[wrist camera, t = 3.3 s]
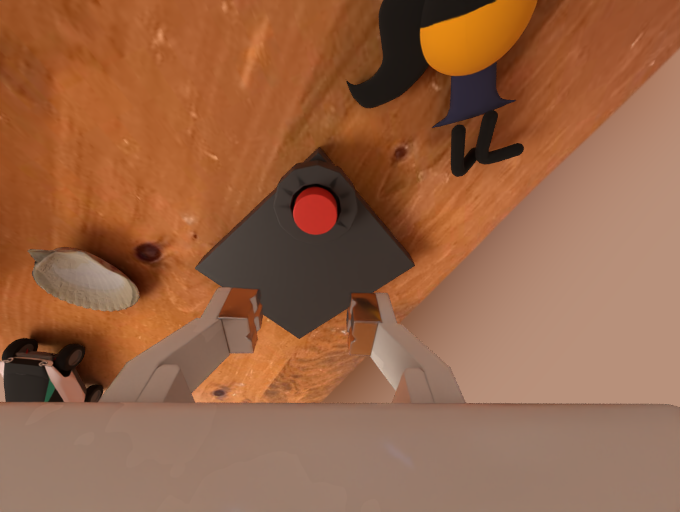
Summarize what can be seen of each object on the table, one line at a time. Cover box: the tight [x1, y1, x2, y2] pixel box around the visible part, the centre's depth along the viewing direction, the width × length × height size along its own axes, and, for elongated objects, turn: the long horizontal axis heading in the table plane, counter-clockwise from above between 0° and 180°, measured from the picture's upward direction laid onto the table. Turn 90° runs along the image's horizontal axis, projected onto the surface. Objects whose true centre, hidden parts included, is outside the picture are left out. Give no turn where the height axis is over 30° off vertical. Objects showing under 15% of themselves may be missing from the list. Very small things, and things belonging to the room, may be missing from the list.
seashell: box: [28, 247, 140, 311], centre depth 24 cm, size 8×3×8 cm
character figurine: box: [347, 0, 538, 177], centre depth 17 cm, size 10×6×12 cm
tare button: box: [293, 187, 337, 235], centre depth 18 cm, size 3×3×2 cm
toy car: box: [0, 338, 103, 402], centre depth 30 cm, size 6×12×5 cm, turn 166°
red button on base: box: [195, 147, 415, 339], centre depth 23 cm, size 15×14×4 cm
